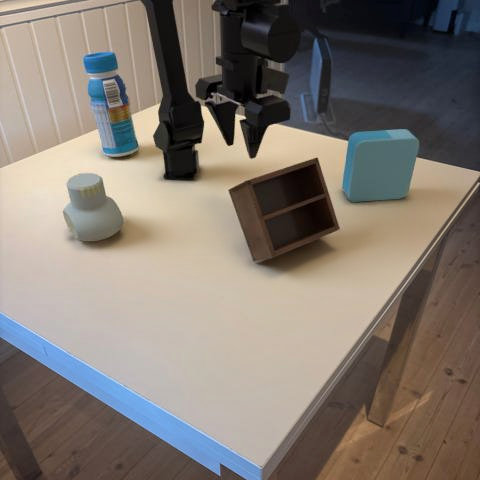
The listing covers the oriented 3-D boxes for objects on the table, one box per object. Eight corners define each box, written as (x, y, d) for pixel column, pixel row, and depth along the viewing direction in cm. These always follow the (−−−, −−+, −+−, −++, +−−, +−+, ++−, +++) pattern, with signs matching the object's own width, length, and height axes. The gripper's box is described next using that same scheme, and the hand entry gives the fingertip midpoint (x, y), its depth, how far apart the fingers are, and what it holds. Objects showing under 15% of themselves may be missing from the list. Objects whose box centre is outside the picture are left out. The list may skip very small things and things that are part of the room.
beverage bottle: (97, 158, 110) (70, 59, 98) (111, 146, 116) (88, 52, 105) (132, 157, 108) (109, 56, 96) (144, 145, 115) (125, 49, 103)
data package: (398, 188, 98) (412, 128, 90) (407, 198, 95) (421, 137, 87) (340, 192, 97) (349, 131, 89) (347, 203, 94) (356, 141, 86)
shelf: (253, 261, 79) (227, 189, 77) (318, 234, 85) (296, 167, 83) (272, 258, 74) (245, 180, 71) (340, 229, 80) (317, 157, 77)
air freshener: (130, 239, 85) (120, 186, 79) (84, 254, 82) (70, 199, 75) (107, 213, 92) (96, 162, 85) (64, 226, 89) (49, 174, 82)
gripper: (322, 53, 70) (313, 157, 81) (247, 31, 82) (247, 125, 92) (260, 66, 66) (259, 175, 76) (190, 41, 77) (197, 139, 88)
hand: (241, 151), depth 83 cm, fingers open, 6 cm apart
